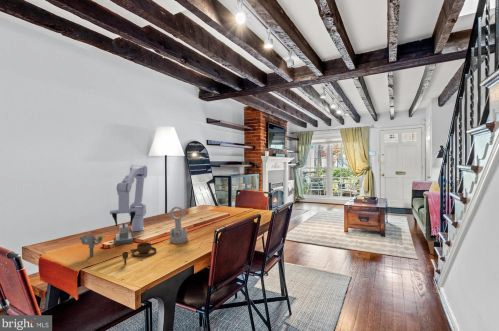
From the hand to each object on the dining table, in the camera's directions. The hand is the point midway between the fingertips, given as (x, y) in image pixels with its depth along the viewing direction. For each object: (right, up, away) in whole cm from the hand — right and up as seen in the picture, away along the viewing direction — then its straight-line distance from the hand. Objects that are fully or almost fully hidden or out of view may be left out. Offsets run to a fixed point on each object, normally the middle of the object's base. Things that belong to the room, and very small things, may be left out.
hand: (123, 225), depth 151 cm
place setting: (+17, -11, -22) cm, 30 cm away
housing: (0, -6, 0) cm, 6 cm away
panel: (0, -9, 0) cm, 9 cm away
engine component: (+32, -10, +2) cm, 33 cm away
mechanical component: (-4, -10, -24) cm, 27 cm away
